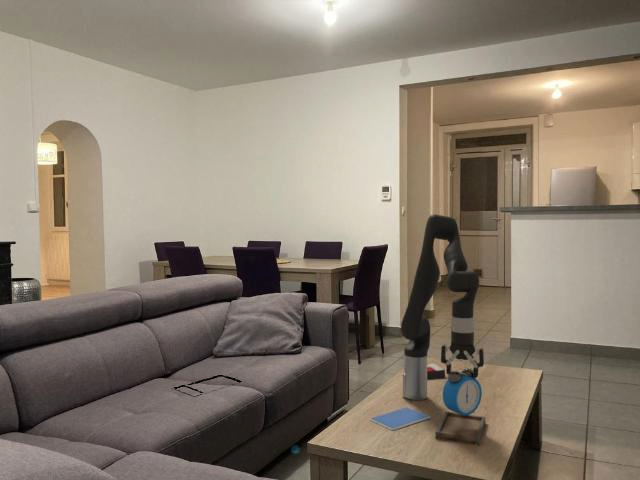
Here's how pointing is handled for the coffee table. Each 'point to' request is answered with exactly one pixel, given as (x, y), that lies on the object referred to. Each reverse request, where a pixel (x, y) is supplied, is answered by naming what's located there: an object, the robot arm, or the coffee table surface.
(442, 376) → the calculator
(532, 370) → the coffee table surface
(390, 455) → the coffee table surface
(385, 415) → the blue notebook
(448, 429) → the tray
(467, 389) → the alarm clock
